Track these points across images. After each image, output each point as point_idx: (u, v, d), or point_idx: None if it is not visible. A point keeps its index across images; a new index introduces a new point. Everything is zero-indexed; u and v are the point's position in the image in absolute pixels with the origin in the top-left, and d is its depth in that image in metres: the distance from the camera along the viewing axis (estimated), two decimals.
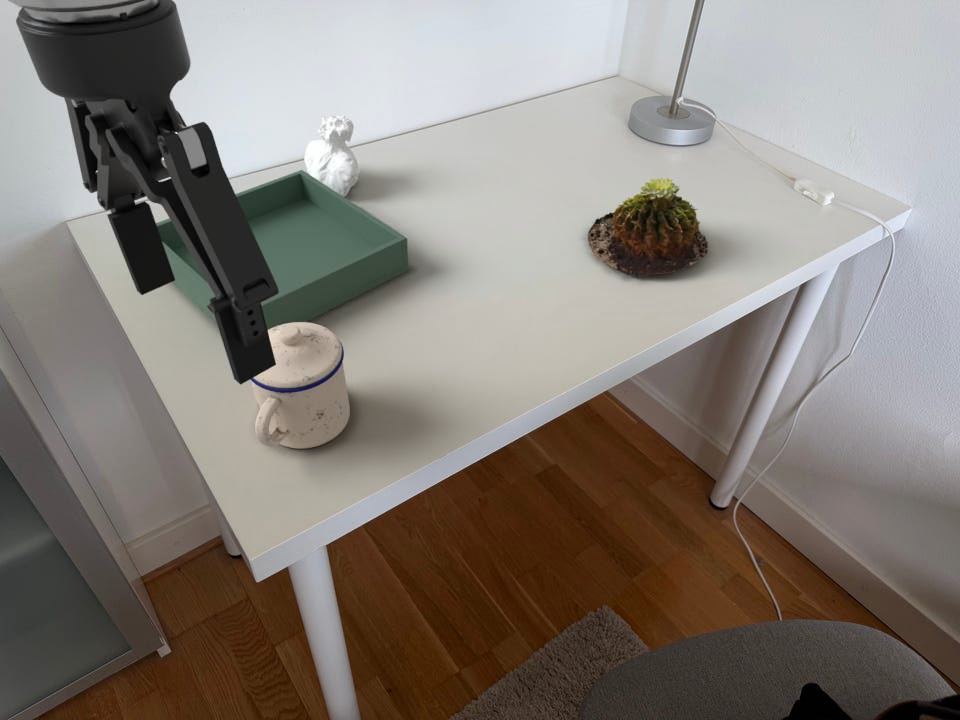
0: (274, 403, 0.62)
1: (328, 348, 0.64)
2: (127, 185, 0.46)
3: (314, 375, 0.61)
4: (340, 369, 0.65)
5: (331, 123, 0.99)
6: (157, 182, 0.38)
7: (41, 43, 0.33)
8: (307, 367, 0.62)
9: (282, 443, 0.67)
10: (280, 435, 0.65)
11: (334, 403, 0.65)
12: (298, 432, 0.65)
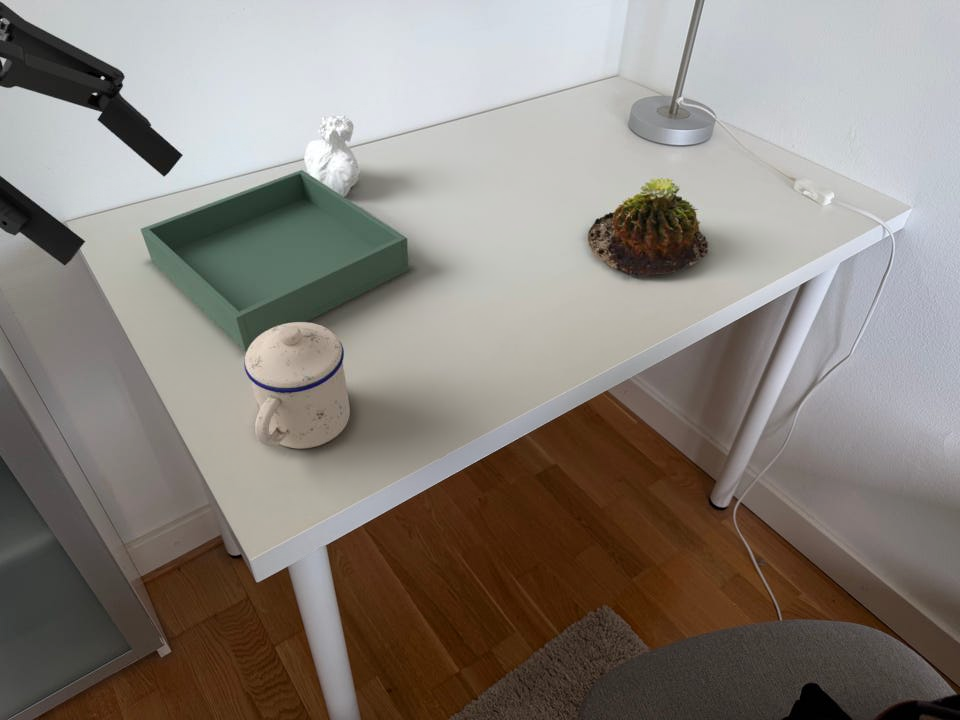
0: (274, 403, 0.62)
1: (328, 348, 0.64)
2: None
3: (314, 375, 0.61)
4: (340, 369, 0.65)
5: (331, 123, 0.99)
6: None
7: None
8: (307, 367, 0.62)
9: (282, 443, 0.67)
10: (280, 435, 0.65)
11: (334, 403, 0.65)
12: (298, 432, 0.65)
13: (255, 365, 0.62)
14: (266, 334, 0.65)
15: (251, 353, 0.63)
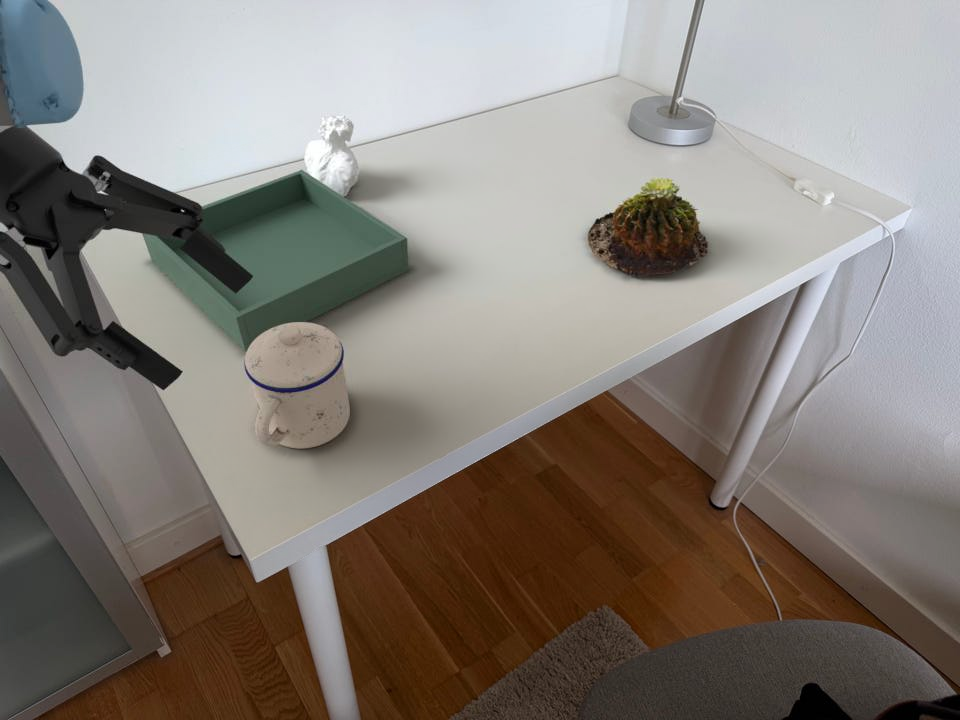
0: (274, 403, 0.62)
1: (328, 348, 0.64)
2: None
3: (314, 375, 0.61)
4: (340, 369, 0.65)
5: (331, 123, 0.99)
6: None
7: (25, 131, 0.53)
8: (307, 367, 0.62)
9: (282, 443, 0.67)
10: (280, 435, 0.65)
11: (334, 403, 0.65)
12: (298, 432, 0.65)
13: (255, 365, 0.62)
14: (266, 334, 0.65)
15: (251, 353, 0.63)
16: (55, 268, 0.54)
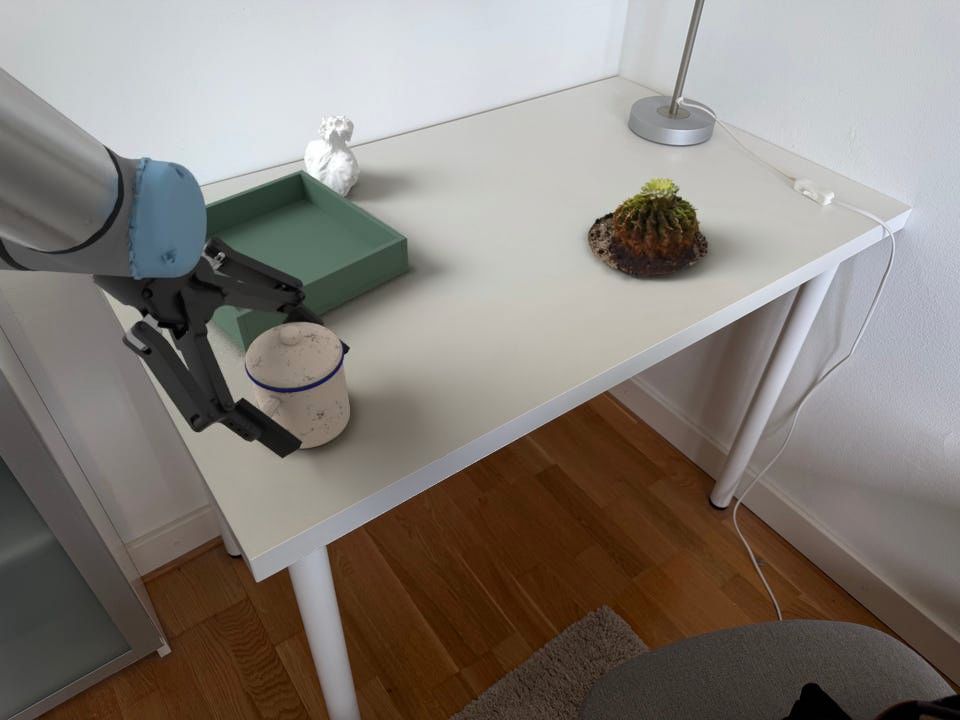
0: (274, 403, 0.62)
1: (328, 348, 0.64)
2: None
3: (314, 375, 0.61)
4: (340, 369, 0.65)
5: (331, 123, 0.99)
6: None
7: None
8: (307, 367, 0.62)
9: None
10: None
11: (334, 403, 0.65)
12: (298, 432, 0.65)
13: (255, 365, 0.62)
14: (266, 334, 0.65)
15: (251, 353, 0.63)
16: (185, 348, 0.58)
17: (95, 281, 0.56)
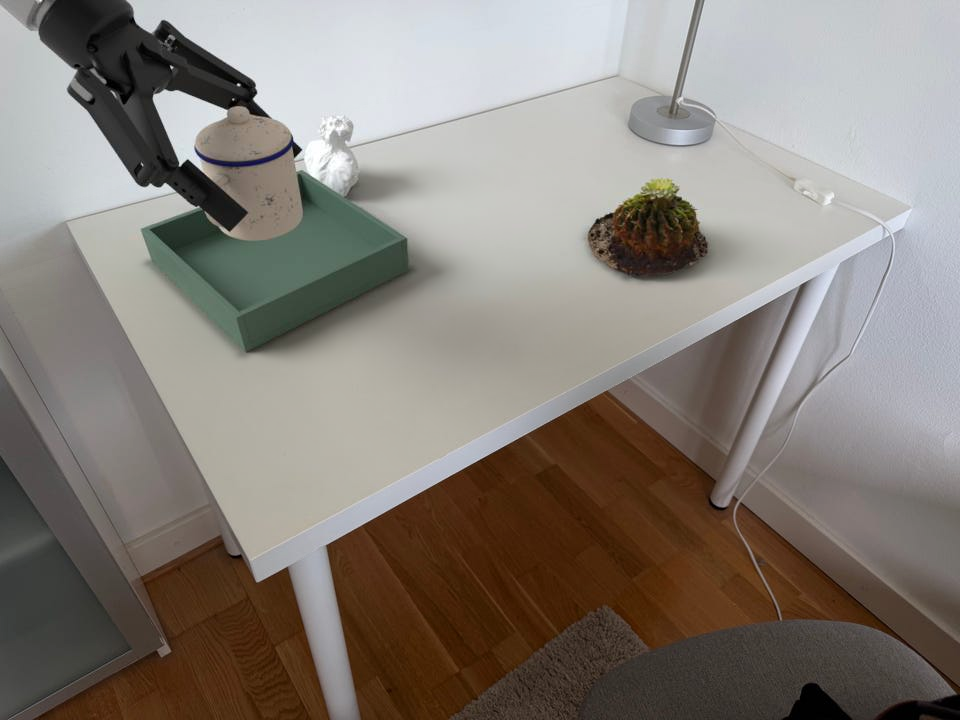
0: (222, 178, 0.63)
1: (277, 132, 0.65)
2: None
3: (261, 151, 0.63)
4: (289, 156, 0.66)
5: (331, 123, 0.99)
6: None
7: None
8: (254, 144, 0.63)
9: (234, 234, 0.68)
10: None
11: (283, 191, 0.66)
12: (248, 219, 0.66)
13: (204, 142, 0.63)
14: (217, 122, 0.66)
15: (200, 134, 0.64)
16: (131, 111, 0.59)
17: (41, 35, 0.57)
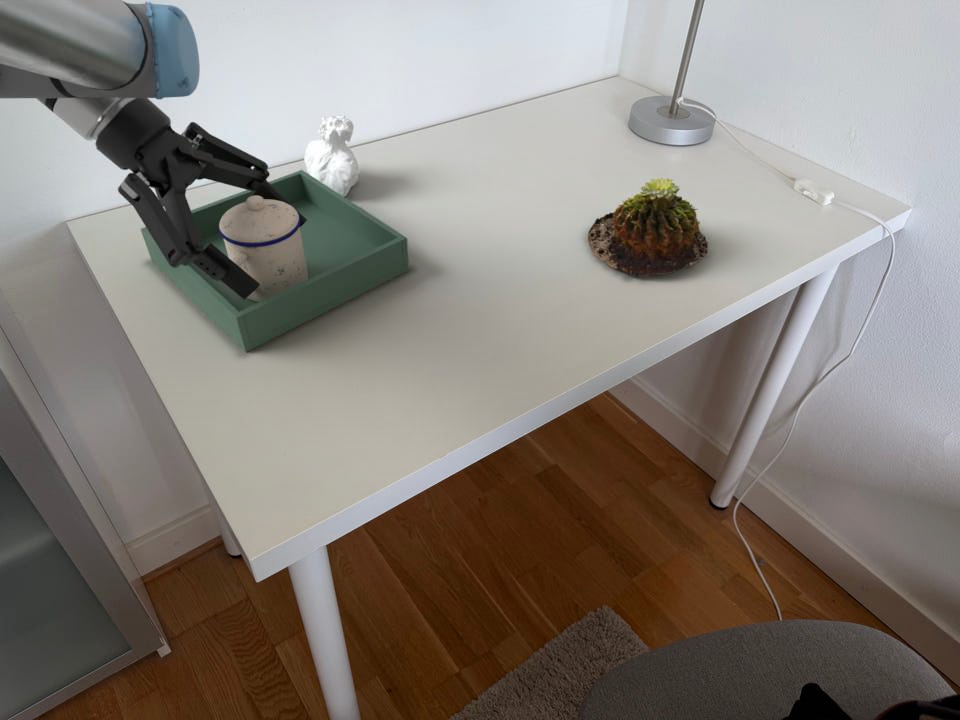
0: (242, 256, 0.76)
1: (287, 215, 0.78)
2: None
3: (274, 233, 0.76)
4: (297, 234, 0.79)
5: (331, 123, 0.99)
6: None
7: (147, 100, 0.71)
8: (269, 227, 0.76)
9: (251, 298, 0.81)
10: None
11: (292, 263, 0.80)
12: (263, 286, 0.80)
13: (227, 226, 0.77)
14: (237, 206, 0.80)
15: (224, 218, 0.78)
16: (167, 203, 0.72)
17: (98, 146, 0.70)
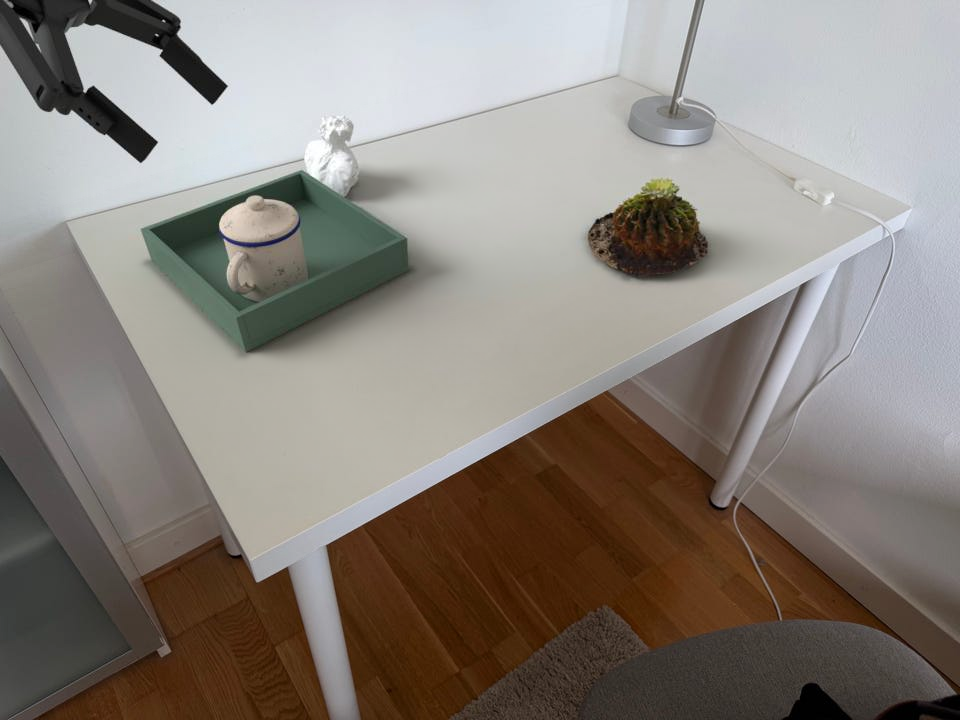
0: (242, 256, 0.76)
1: (287, 215, 0.78)
2: None
3: (274, 233, 0.76)
4: (297, 234, 0.79)
5: (331, 123, 0.99)
6: None
7: None
8: (269, 227, 0.76)
9: (251, 298, 0.81)
10: (248, 289, 0.80)
11: (292, 263, 0.80)
12: (263, 286, 0.80)
13: (227, 226, 0.77)
14: (237, 206, 0.80)
15: (224, 218, 0.78)
16: (41, 38, 0.59)
17: None
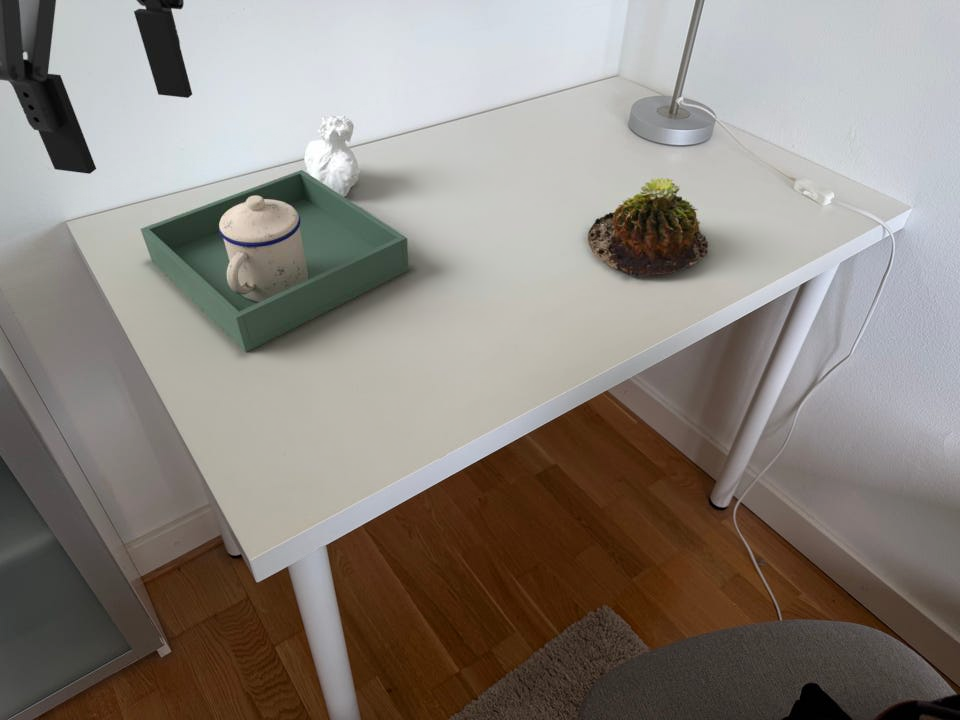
0: (242, 256, 0.76)
1: (287, 215, 0.78)
2: None
3: (274, 233, 0.76)
4: (297, 234, 0.79)
5: (331, 123, 0.99)
6: None
7: None
8: (269, 227, 0.76)
9: (251, 298, 0.81)
10: (248, 289, 0.80)
11: (292, 263, 0.80)
12: (263, 286, 0.80)
13: (227, 226, 0.77)
14: (237, 206, 0.80)
15: (224, 218, 0.78)
16: None
17: None
